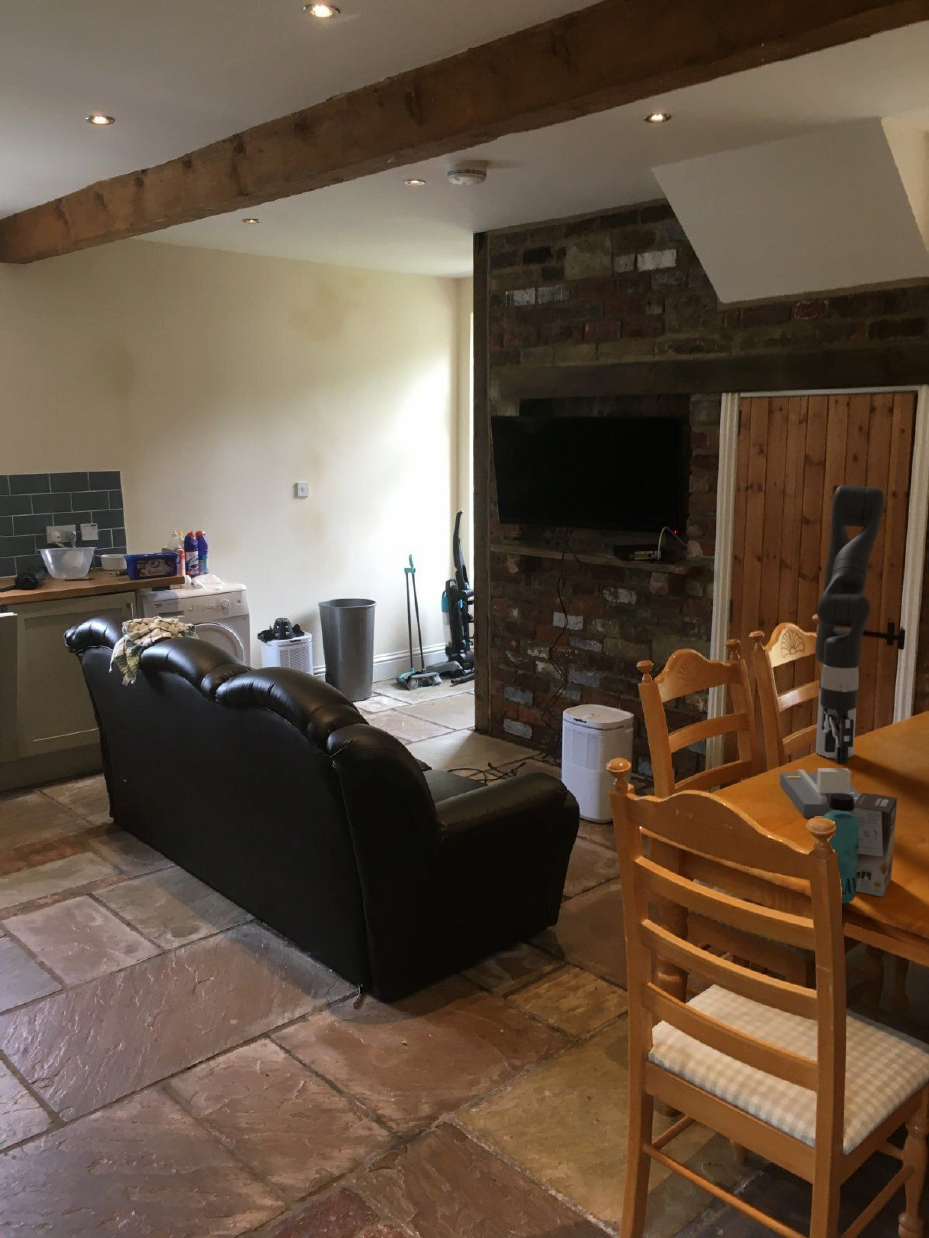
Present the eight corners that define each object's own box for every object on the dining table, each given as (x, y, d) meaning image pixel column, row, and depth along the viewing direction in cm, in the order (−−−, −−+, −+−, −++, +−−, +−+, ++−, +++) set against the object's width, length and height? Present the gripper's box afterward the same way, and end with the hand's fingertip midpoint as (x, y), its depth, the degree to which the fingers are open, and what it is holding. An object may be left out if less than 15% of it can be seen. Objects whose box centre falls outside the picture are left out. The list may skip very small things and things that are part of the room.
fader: (815, 795, 221) (817, 767, 220) (845, 796, 221) (847, 768, 220) (819, 800, 218) (821, 772, 217) (849, 800, 218) (851, 772, 217)
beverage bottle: (820, 910, 174) (826, 801, 170) (812, 893, 180) (818, 788, 177) (859, 912, 173) (866, 802, 169) (850, 895, 179) (857, 789, 176)
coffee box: (884, 898, 178) (890, 812, 176) (846, 890, 182) (851, 806, 179) (892, 878, 186) (897, 796, 183) (855, 871, 189) (861, 791, 187)
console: (779, 784, 238) (780, 767, 237) (839, 785, 237) (840, 768, 236) (803, 817, 217) (804, 798, 216) (869, 818, 216) (870, 799, 215)
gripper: (812, 678, 222) (808, 748, 225) (831, 693, 208) (827, 767, 211) (846, 678, 222) (842, 748, 224) (868, 693, 208) (863, 768, 210)
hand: (835, 757), depth 218 cm, fingers open, 8 cm apart
